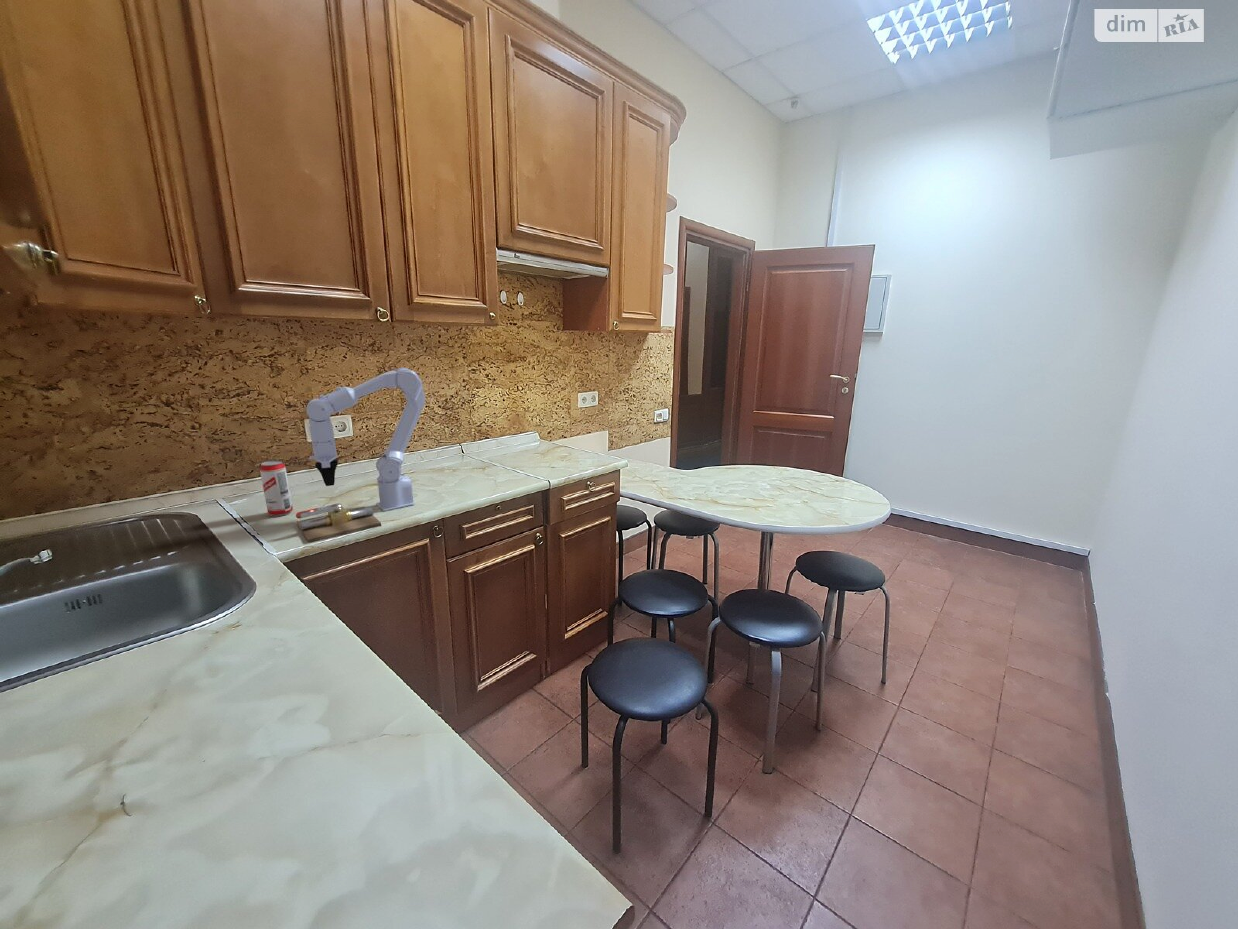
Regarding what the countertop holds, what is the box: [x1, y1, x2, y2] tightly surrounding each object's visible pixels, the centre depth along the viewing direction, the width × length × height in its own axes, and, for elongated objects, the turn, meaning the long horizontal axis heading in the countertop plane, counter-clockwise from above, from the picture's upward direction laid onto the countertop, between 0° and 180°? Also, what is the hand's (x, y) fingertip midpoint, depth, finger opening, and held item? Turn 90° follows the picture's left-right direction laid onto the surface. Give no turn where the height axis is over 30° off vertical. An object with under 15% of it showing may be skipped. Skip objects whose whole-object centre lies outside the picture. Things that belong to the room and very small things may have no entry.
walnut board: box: [296, 506, 382, 544], centre depth 136 cm, size 18×16×1 cm
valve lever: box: [295, 503, 343, 519], centre depth 132 cm, size 11×3×2 cm, turn 137°
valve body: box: [300, 506, 374, 530], centre depth 136 cm, size 18×4×4 cm, turn 132°
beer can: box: [259, 460, 294, 517], centre depth 142 cm, size 6×6×16 cm
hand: (330, 485), depth 142 cm, fingers closed
